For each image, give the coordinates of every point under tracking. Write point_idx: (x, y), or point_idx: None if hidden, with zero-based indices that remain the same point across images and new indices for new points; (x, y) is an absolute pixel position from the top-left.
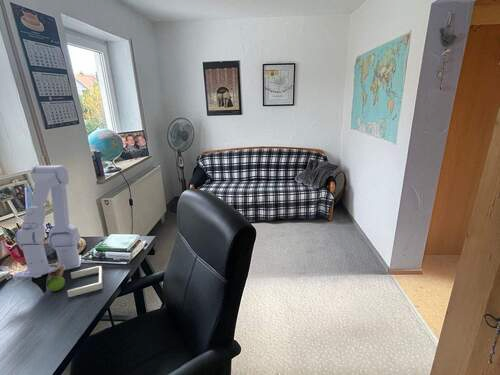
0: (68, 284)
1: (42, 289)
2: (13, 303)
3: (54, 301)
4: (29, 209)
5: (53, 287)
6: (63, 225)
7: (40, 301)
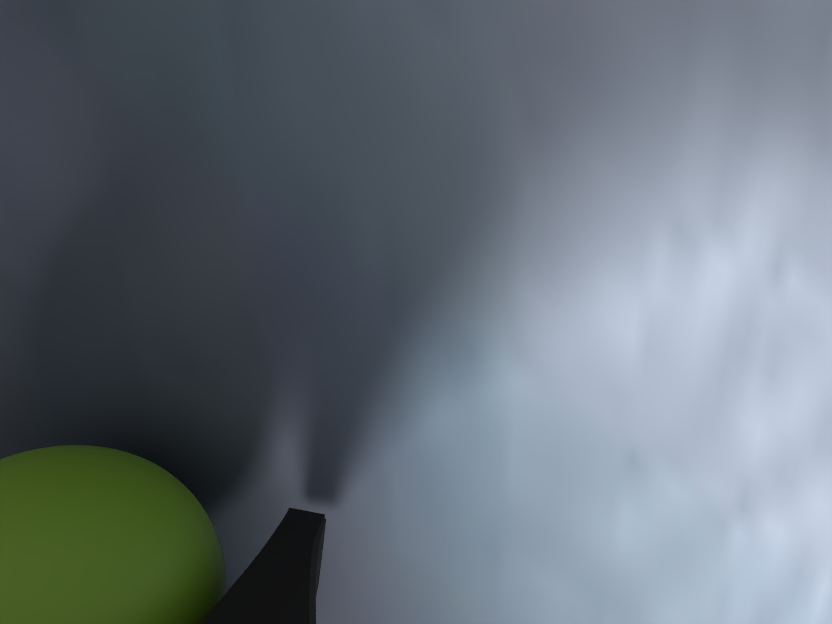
0: None
1: (291, 574)
2: (770, 545)
3: (138, 182)
4: None
5: (59, 505)
6: None
7: (383, 343)
